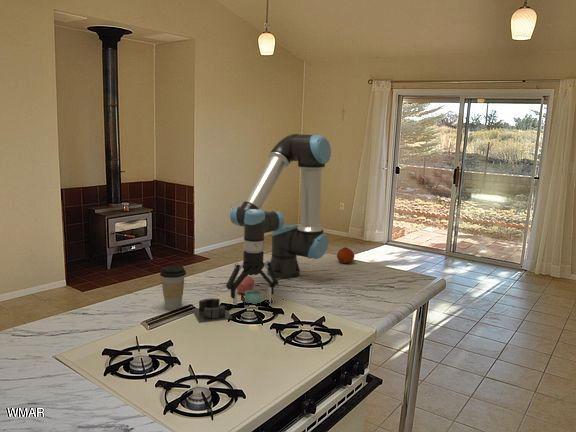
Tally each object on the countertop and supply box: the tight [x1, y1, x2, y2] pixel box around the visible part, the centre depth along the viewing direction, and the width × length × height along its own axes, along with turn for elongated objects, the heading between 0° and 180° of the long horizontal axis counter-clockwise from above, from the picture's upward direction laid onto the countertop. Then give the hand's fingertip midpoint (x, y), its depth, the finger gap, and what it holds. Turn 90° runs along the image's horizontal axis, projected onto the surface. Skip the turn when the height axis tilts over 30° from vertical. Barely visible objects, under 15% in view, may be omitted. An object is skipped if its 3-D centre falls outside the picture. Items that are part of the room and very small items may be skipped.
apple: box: [236, 275, 255, 295], centre depth 195 cm, size 7×7×8 cm
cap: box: [244, 289, 262, 304], centre depth 184 cm, size 6×6×5 cm
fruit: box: [336, 247, 355, 264], centre depth 246 cm, size 9×9×8 cm
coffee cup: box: [159, 265, 187, 311], centre depth 177 cm, size 9×9×15 cm
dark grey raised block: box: [191, 297, 233, 324], centre depth 173 cm, size 12×12×4 cm
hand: (252, 304), depth 184 cm, fingers open, 13 cm apart
